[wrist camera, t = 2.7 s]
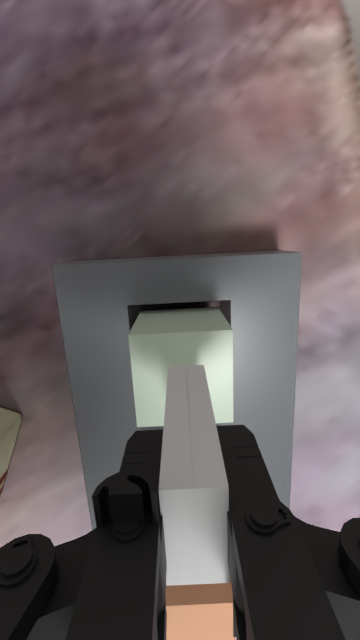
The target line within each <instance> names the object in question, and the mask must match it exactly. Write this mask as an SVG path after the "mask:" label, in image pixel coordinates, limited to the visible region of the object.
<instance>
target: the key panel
mask: <svg viewBox="0 0 360 640" xmlns="http://www.w3.org/2000/svg"><path fill="white" fill-rule="evenodd" d="M301 258H302V252H293V251H283V250H271V251H252V252H233V253H214V254H195V255H175V256H156V257H137V258H118V259H99V260H80V261H71V262H66V263H61V264H56V265H52V270H53V277H54V283H55V290H56V296H57V303H58V309H59V316H60V322H61V329H62V335H63V342H64V348H65V355H66V361H67V368H68V374H69V381H70V387H71V394H72V400H73V407H74V413H75V420H76V426H77V433H78V439H79V446H80V452H81V459H82V465H83V472H84V478H85V485H86V491H87V498H88V504H89V511H90V517H91V524H92V530H94V529H95V528H96V521H95V514H94V507H93V501H92V494H93V493H94V491H95V489H96V487H97V486H98V485H99V484H100V483H101V482H102V481H103V480H105V479H106V478H107V477H109V476H112V475H114V474H116V473H118V472H119V471H120V467H121V463H122V459H123V456H124V451H125V447H126V443H127V441H128V439H129V438H130V437H131V436H132V435H133V434H134V432H135V431H143V430H163V427H164V426H154V427H137V421H136V410H135V400H134V390H133V380H132V369H131V359H130V349H129V339H128V335H129V333H130V331H131V329H132V327H133V325H134V323H135V321H136V319H137V317H138V310H137V305H144V304H163V303H182V302H201V301H221V312H222V314H223V315H224V317H225V318H226V320H227V322H228V323H229V325H230V326H231V328H232V329H233V422H232V423H216V426H224V425H245V426H246V427H247V428H248V429H249V430H250V431H251V432H252V433H253V434H254V436H255V439H256V441H257V444H258V448H259V449H260V452H261V454H262V458H263V459H264V462H265V465H266V467H267V470H268V472H269V475H270V477H271V480H272V483H273V485H274V488H275V490H276V493H277V495H278V498H279V500H280V502H282V503H283V504H284V505H285V506H286V507H288V508H289V507H290V486H291V466H292V445H293V424H294V403H295V383H296V362H297V341H298V320H299V300H300V279H301Z"/></svg>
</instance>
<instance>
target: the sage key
mask: <svg viewBox="0 0 360 640" xmlns="http://www.w3.org/2000/svg"><path fill="white" fill-rule="evenodd" d="M128 339H129V349H130V359H131V369H132V380H133V390H134V400H135V410H136V421H137V427H154V426H164V415H165V402H166V389H167V376H168V367H172V366H192V365H204V368H205V373H206V378H207V383H208V388H209V393H210V398H211V402H212V407H213V412H214V417H215V422H216V423H232V422H233V329H232V328H231V326H230V325H229V323H228V322H227V320H226V318H225V317H224V315H223V314H222V312H221V311H220V309H219V307H209V308H190V309H170V310H151V311H140V313H139V315H138V317H137V319H136V321H135V323H134V325H133V327H132V329H131V331H130V333H129V335H128Z"/></svg>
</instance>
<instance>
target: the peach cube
mask: <svg viewBox="0 0 360 640" xmlns="http://www.w3.org/2000/svg"><path fill="white" fill-rule="evenodd" d="M165 599H166V611H167V629H166V640H235V637H233V592H232V585H231V579H230V583H216V584H193V585H170V586H166V597H165Z"/></svg>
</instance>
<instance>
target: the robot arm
mask: <svg viewBox="0 0 360 640" xmlns="http://www.w3.org/2000/svg"><path fill="white" fill-rule="evenodd" d="M92 501H93V507H94V514H95V521H96V528H95V529H94V530H92V531H91V532H89V533H88V534H86V535H84V536H82V537H80V538H77V539H75V540H72V541H69V542H66V543H63V544H60V545H57V546H55V547H54V545H53V543H52V542H51V540H50V538H48V537H46V536H43V535H41V534H28V535H25V536H22V537H19V538H16V539H14V540H12V541H11V542H9V543H7V544H6V545H4V546H3V547H1V548H0V640H166V629H167V611H166V599H165V597H166V586H170V585H193V584H216V583H230V579H231V585H232V592H233V637H237V640H360V518H352V519H351V520H349V521H347V522H346V523H344V525H343V527H342V529H341V532H337V531H333V530H329V529H324V528H320V527H316V526H313V525H310V524H307V523H305V522H303V521H301V520H299V519H298V518H296V517H295V516H293V514H292V513H291V511H290V510H289V508H288V507H286V506H285V505H284V504H283V503H282V502H280V500H279V498H278V495H277V493H276V490H275V488H274V485H273V483H272V480H271V477H270V475H269V472H268V470H267V467H266V465H265V462H264V459H263V458H262V454H261V452H260V449H259V448H258V444H257V441H256V439H255V436H254V434H253V433H252V432H251V431H250V430H249V429H248V428H247V427H246V426H245V425H224V426H216V422H215V417H214V412H213V407H212V402H211V398H210V393H209V388H208V383H207V378H206V373H205V368H204V365H192V366H172V367H168V376H167V389H166V402H165V415H164V427H163V430H143V431H135V432H134V434H133V435H132V436H131V437H130V438H129V439H128V441H127V443H126V447H125V451H124V456H123V459H122V463H121V467H120V471H119V472H118V473H116V474H114V475H112V476H109V477H107V478H106V479H105V480H103V481H102V482H101V483H100V484H99V485H98V486H97V487H96V489H95V491H94V493H93V494H92Z"/></svg>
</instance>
